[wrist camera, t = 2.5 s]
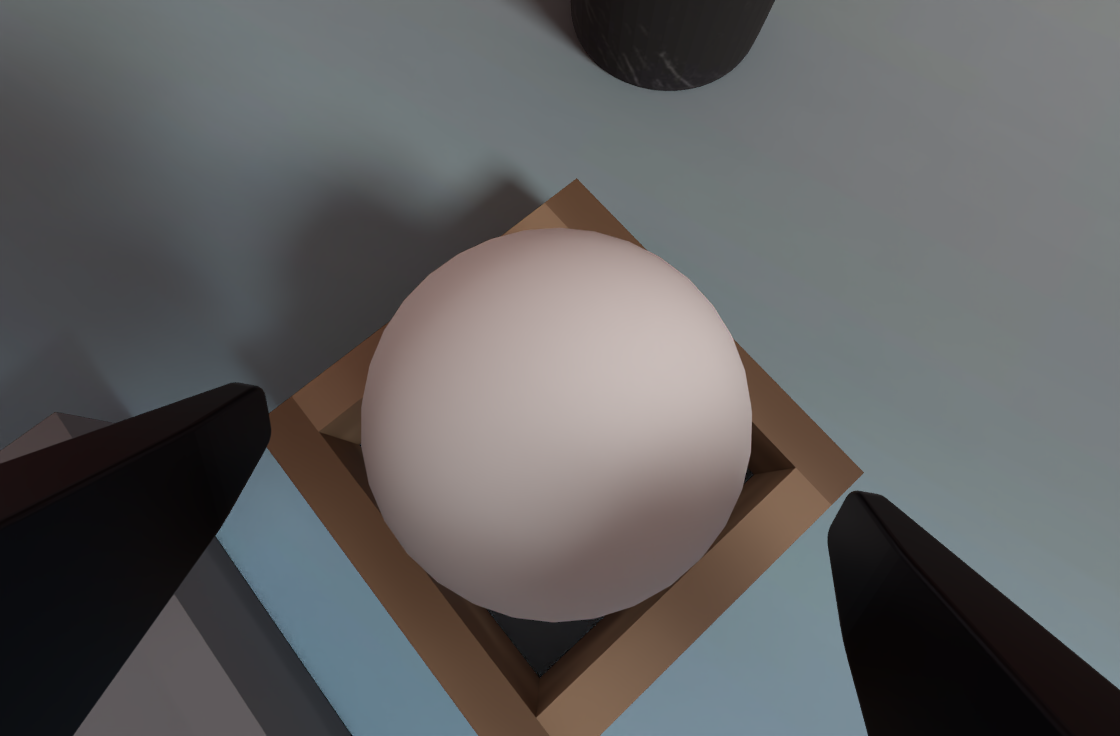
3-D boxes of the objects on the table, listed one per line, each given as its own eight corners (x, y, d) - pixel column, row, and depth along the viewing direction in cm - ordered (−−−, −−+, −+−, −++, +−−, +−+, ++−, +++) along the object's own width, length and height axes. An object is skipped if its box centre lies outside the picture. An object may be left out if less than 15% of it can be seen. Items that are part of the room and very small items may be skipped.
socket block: (534, 747, 15) (529, 805, 12) (303, 440, 17) (251, 426, 14) (810, 478, 17) (863, 472, 14) (573, 229, 19) (576, 178, 16)
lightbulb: (523, 609, 16) (459, 819, 5) (418, 429, 17) (190, 299, 6) (696, 490, 17) (947, 458, 6) (584, 327, 18) (626, 60, 7)
